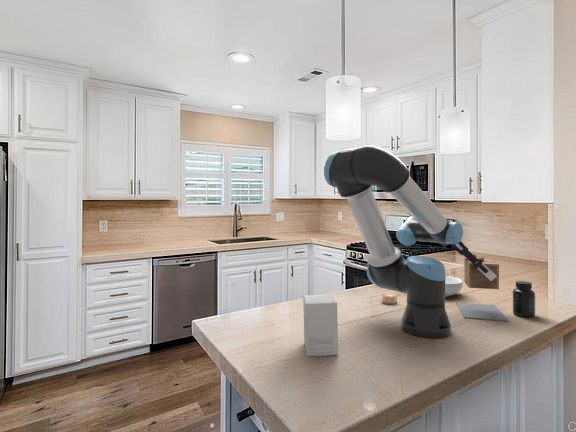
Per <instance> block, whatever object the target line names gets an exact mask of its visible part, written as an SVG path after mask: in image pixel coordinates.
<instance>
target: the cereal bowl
mask: <svg viewBox="0 0 576 432" xmlns="http://www.w3.org/2000/svg"><path fill="white" fill-rule="evenodd" d="M445 276H446V278H445V298H447V297H451V296H453V295H456V294H459V293H460V292H461V290H462V288H463V280H462V279H461V278H458V277H455V276H449V275H445Z"/></svg>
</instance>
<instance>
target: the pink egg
mask: <svg viewBox="0 0 576 432" xmlns="http://www.w3.org/2000/svg"><path fill="white" fill-rule="evenodd" d="M381 302H382V303H383V304H386V305H396V304H398V294H396V293H391V292H385V293H382V294H381Z"/></svg>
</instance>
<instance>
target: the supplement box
mask: <svg viewBox="0 0 576 432" xmlns="http://www.w3.org/2000/svg"><path fill="white" fill-rule="evenodd" d="M302 298H303V300H302V301H303V302H302V303H303V339H304V341H303V343H304V348H305V353H306V356H307V357H320V356H321V357H323V356H338V355H339V334H338V333H339V328H338V326H339V325H338V319H339V318H338V302H337V301H336V299H335V298H334V296H333V294H305V295H303V297H302Z"/></svg>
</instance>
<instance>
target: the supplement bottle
mask: <svg viewBox="0 0 576 432" xmlns="http://www.w3.org/2000/svg"><path fill="white" fill-rule="evenodd" d="M532 285H533V284H532V282H530V281H524V280H520V281H519V280H516V281H515V287H516V288H513V290H512V314H513V315H515V316H516V317H520V318H525V319H526V318H527V319H528V318H530V319H531V318H534V317H536V293H535V291H534V290H533V286H532Z"/></svg>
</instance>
